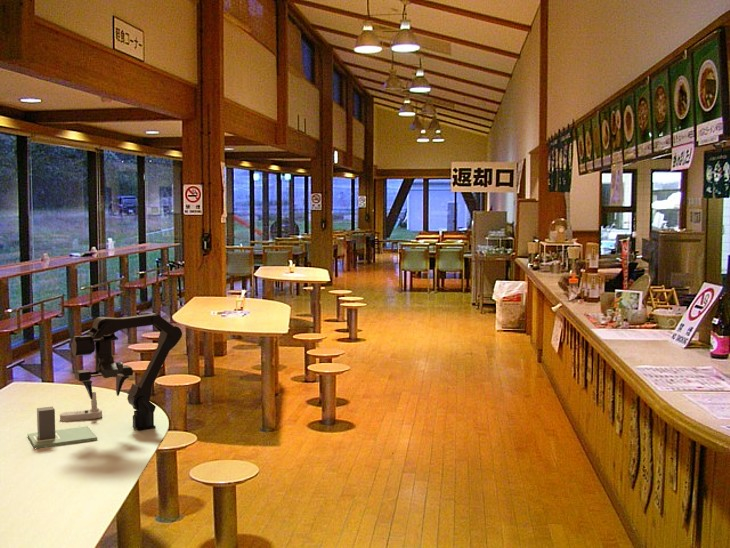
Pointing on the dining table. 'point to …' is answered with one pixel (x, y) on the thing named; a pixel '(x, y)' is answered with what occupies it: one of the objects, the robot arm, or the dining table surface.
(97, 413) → the beige bar with post
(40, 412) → the plug block
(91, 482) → the dining table surface
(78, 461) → the dining table surface
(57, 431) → the board
